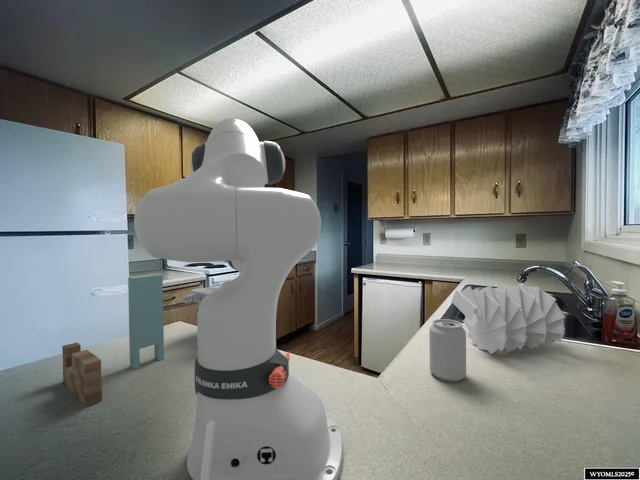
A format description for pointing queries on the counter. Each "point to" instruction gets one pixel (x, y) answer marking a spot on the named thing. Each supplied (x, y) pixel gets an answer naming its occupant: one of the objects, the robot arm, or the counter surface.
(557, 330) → the spiral staircase
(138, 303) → the teal plate
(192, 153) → the robot arm
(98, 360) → the notched walnut block
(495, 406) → the counter surface
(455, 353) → the can
